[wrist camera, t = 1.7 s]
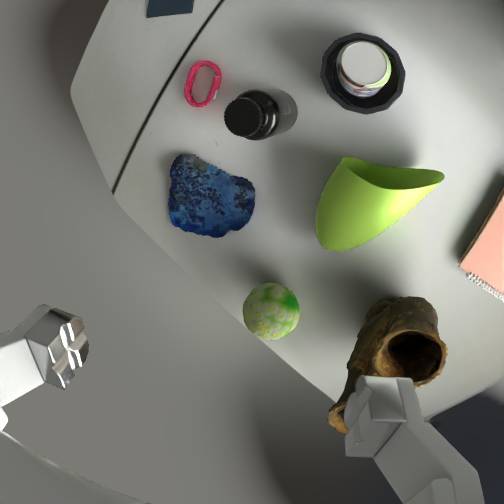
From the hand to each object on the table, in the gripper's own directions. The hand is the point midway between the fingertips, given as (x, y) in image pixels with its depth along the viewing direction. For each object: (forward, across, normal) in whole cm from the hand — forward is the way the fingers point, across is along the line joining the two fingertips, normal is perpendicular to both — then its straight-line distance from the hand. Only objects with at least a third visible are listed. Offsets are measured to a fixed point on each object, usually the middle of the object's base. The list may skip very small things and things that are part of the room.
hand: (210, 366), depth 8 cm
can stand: (+40, -10, -13) cm, 43 cm away
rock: (+48, +12, +11) cm, 50 cm away
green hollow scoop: (+40, -13, +4) cm, 43 cm away
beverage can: (+40, -10, -13) cm, 43 cm away
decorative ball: (+45, -3, +26) cm, 52 cm away
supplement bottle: (+44, +2, -6) cm, 44 cm away
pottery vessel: (+39, -24, +25) cm, 52 cm away
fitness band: (+47, +14, -9) cm, 50 cm away
